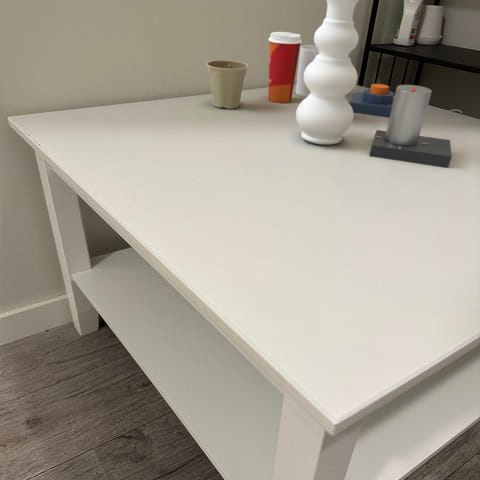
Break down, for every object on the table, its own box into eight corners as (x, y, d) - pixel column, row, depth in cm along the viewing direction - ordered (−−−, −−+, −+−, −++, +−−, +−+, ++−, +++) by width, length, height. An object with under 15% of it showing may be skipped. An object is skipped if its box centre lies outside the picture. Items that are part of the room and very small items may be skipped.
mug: (295, 97, 120) (301, 49, 114) (295, 89, 126) (300, 44, 120) (344, 100, 120) (352, 53, 113) (341, 92, 126) (348, 47, 120)
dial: (386, 133, 93) (398, 81, 87) (418, 138, 92) (432, 85, 86) (383, 143, 88) (396, 88, 83) (417, 147, 87) (432, 92, 81)
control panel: (447, 150, 93) (450, 138, 92) (448, 167, 85) (452, 155, 84) (374, 139, 96) (376, 128, 95) (368, 156, 88) (371, 144, 87)
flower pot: (253, 105, 113) (256, 64, 107) (232, 113, 106) (234, 70, 101) (220, 98, 116) (221, 58, 111) (198, 106, 110) (197, 64, 104)
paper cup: (278, 94, 122) (284, 30, 113) (301, 101, 117) (309, 35, 109) (257, 98, 117) (261, 32, 108) (280, 106, 113) (286, 38, 104)
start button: (387, 93, 113) (389, 85, 112) (386, 97, 110) (388, 88, 109) (370, 91, 114) (372, 83, 113) (368, 94, 111) (370, 86, 110)
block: (401, 108, 116) (406, 90, 114) (399, 119, 109) (404, 100, 106) (352, 102, 119) (355, 84, 116) (347, 112, 111) (350, 93, 109)
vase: (292, 129, 99) (309, -18, 83) (345, 133, 99) (371, -14, 83) (294, 147, 90) (313, -14, 75) (352, 151, 90) (382, -10, 75)
